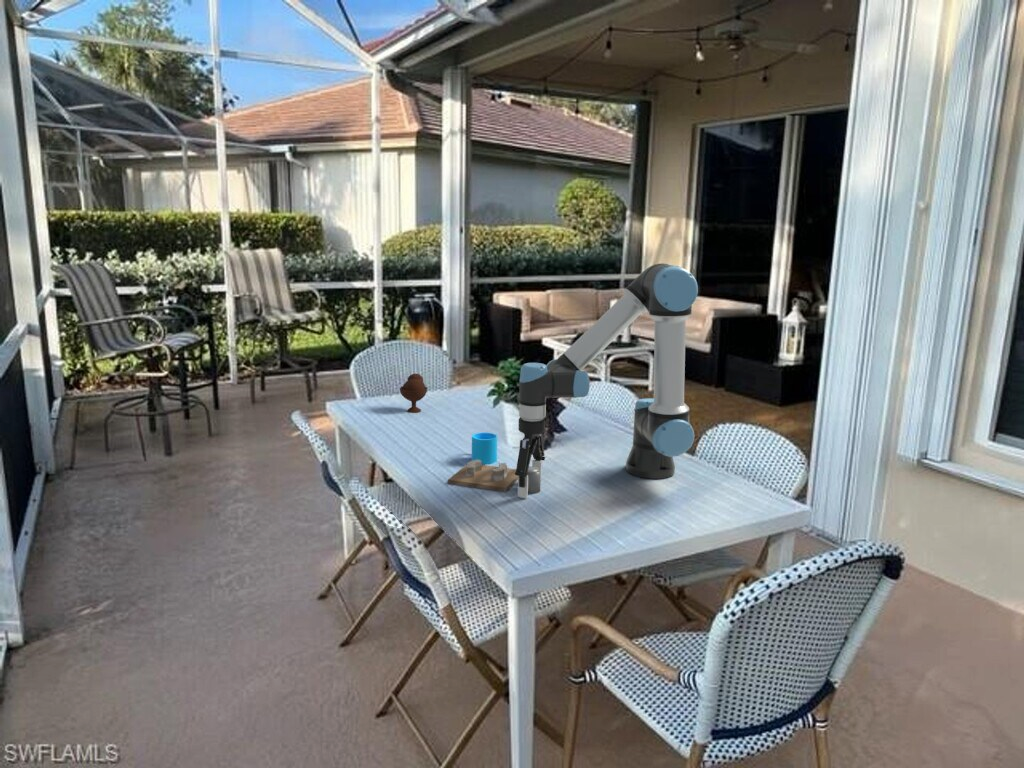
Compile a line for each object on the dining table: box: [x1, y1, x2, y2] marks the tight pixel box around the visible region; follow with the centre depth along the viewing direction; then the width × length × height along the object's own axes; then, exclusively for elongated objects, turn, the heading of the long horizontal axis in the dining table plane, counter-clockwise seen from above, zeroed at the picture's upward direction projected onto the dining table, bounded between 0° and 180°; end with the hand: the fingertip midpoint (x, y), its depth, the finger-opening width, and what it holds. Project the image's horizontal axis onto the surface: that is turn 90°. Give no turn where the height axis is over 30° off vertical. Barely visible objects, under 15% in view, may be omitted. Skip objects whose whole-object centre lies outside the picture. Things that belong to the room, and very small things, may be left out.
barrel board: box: [447, 459, 518, 493], centre depth 223 cm, size 18×16×4 cm
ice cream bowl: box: [399, 373, 429, 414], centre depth 295 cm, size 11×11×15 cm
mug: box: [471, 432, 498, 465], centre depth 241 cm, size 12×8×8 cm
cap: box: [521, 465, 542, 495], centre depth 215 cm, size 6×6×6 cm
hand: (529, 489), depth 216 cm, fingers open, 12 cm apart
